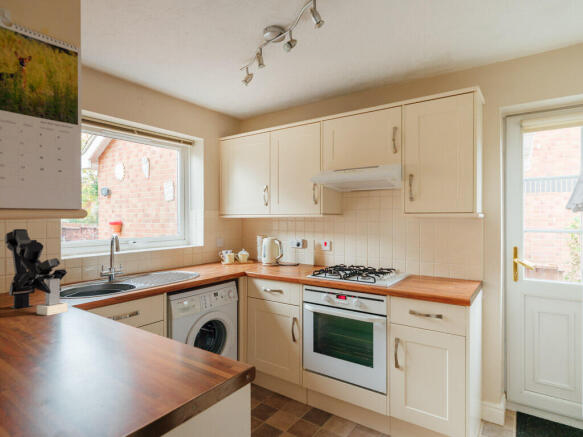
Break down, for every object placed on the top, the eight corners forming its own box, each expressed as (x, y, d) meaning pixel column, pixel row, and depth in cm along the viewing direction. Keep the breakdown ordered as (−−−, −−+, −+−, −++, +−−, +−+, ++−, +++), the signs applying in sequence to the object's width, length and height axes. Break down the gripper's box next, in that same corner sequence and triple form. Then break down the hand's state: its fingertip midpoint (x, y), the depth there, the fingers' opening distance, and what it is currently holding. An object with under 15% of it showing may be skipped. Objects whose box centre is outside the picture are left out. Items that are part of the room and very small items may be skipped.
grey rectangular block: (43, 307, 143) (44, 279, 143) (55, 305, 147) (55, 278, 147) (49, 308, 141) (50, 280, 141) (60, 306, 145) (61, 278, 145)
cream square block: (36, 313, 142) (36, 305, 142) (57, 309, 149) (57, 301, 149) (47, 315, 138) (47, 306, 138) (67, 311, 145) (67, 303, 145)
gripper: (24, 254, 136) (46, 281, 134) (63, 251, 154) (84, 275, 152) (8, 273, 137) (30, 301, 135) (49, 268, 156) (69, 292, 153)
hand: (55, 291), depth 144 cm, fingers closed on grey rectangular block, 5 cm apart
